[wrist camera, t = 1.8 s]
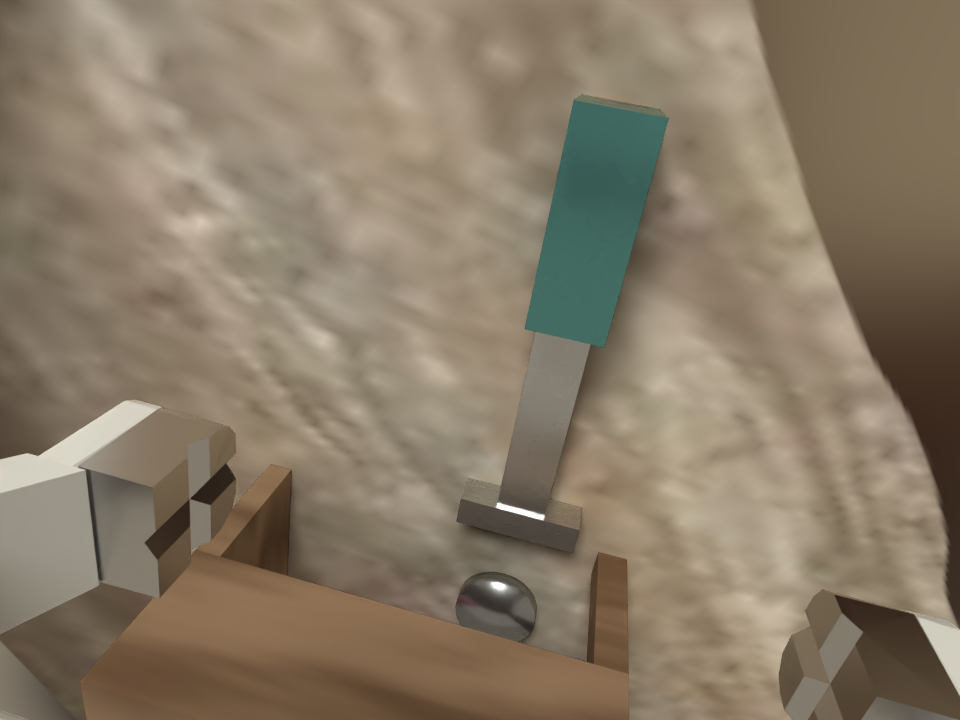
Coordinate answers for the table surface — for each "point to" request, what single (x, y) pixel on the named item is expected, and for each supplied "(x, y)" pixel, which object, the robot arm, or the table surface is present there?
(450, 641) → the wooden bench
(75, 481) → the robot arm
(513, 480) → the block
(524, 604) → the silver flat dome
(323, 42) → the table surface
